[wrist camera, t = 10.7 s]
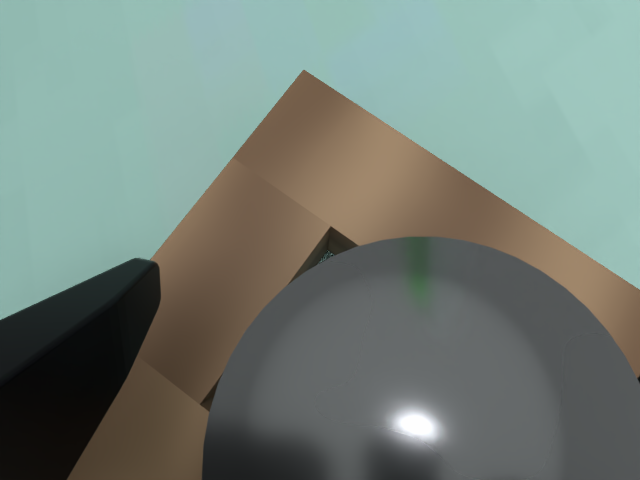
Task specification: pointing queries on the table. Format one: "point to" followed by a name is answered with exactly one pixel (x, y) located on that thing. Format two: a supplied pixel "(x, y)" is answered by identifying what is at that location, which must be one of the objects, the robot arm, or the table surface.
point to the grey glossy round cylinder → (424, 375)
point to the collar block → (304, 262)
